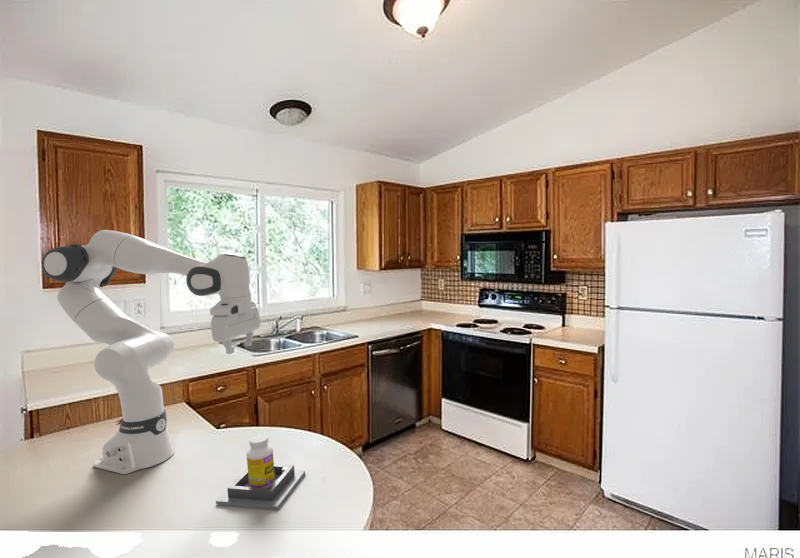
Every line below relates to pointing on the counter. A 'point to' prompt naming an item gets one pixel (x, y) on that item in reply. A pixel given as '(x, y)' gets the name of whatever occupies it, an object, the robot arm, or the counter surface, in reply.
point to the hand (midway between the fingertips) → (239, 349)
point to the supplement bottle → (260, 463)
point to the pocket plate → (262, 490)
